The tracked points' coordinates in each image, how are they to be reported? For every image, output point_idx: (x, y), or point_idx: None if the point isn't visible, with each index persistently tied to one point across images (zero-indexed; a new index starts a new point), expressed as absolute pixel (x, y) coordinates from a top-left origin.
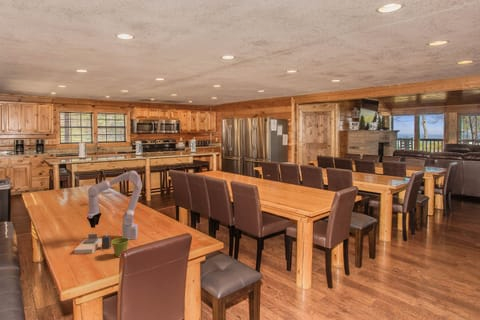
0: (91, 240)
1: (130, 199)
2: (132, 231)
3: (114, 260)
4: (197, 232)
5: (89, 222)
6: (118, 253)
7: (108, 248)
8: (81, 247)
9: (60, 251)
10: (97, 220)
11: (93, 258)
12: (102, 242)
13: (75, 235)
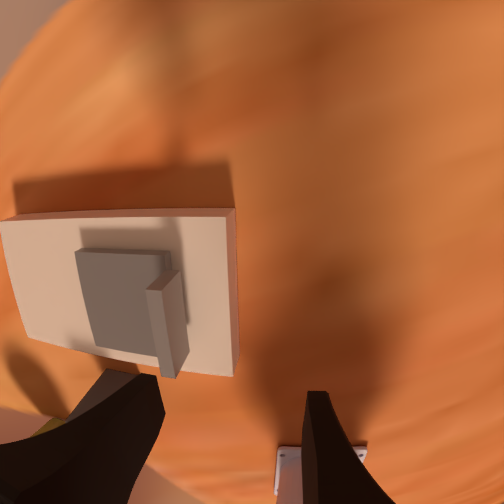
0: (115, 315)
1: None
2: None
3: (29, 410)
4: None
5: (63, 424)
6: None
7: None
8: (28, 260)
9: (51, 85)
10: (306, 488)
11: (10, 338)
12: (84, 399)
13: (456, 29)
